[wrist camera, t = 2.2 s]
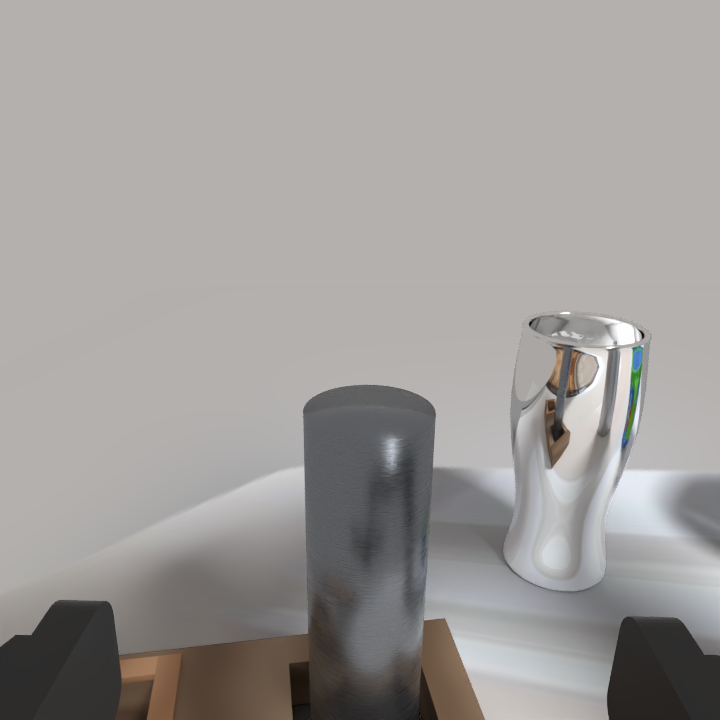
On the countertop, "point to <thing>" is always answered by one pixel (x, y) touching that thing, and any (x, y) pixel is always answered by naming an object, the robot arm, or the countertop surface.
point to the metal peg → (367, 549)
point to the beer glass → (571, 441)
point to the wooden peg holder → (271, 680)
